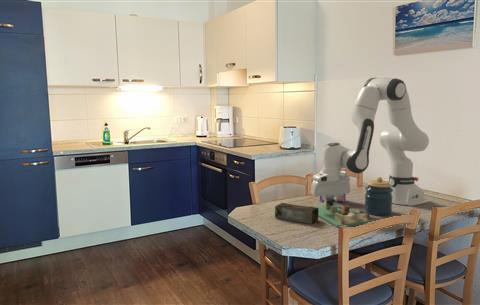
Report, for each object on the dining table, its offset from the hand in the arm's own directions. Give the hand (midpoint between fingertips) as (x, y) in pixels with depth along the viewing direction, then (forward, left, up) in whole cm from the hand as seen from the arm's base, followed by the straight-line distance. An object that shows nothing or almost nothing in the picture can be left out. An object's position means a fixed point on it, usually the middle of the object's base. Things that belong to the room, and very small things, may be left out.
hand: (330, 203), depth 198 cm
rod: (0, +6, -3) cm, 6 cm away
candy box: (-12, -18, -4) cm, 22 cm away
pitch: (0, +7, -4) cm, 8 cm away
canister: (-22, +8, -4) cm, 24 cm away
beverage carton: (+21, +6, -5) cm, 22 cm away
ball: (0, +18, -1) cm, 18 cm away
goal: (0, +19, -4) cm, 19 cm away
